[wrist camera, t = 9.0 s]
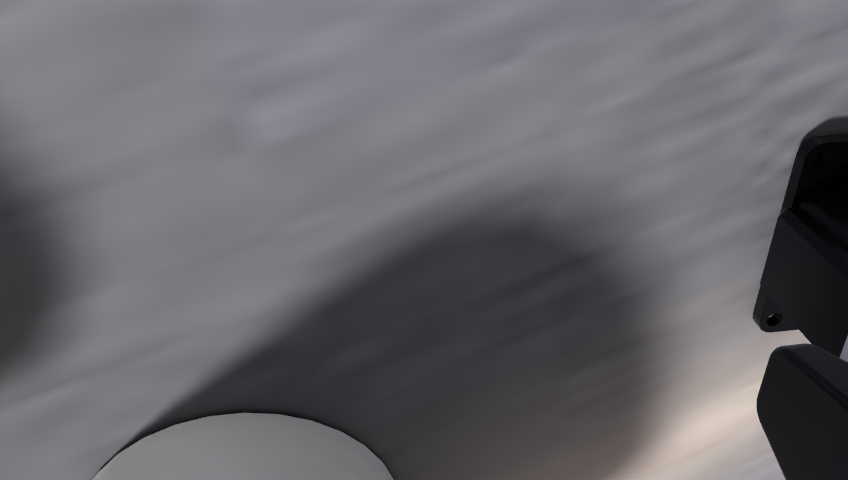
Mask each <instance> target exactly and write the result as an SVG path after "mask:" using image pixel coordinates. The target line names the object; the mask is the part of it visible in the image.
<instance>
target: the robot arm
mask: <svg viewBox="0 0 848 480" xmlns="http://www.w3.org/2000/svg"><path fill="white" fill-rule="evenodd" d="M821 151H822V153H821V155H820V156H819V157H818V158H817V159H816V160H813V158H814V156H815V155H816V154H817V153H819V152H821ZM760 285H761V286H760V290H759V293H758V297H757V301H756V304H755V308H754V312H753V319H754V321H755V323H756V324H757V325H758V326H759V327H760V329H761V330H763V331H765V332H779V331H788V330H798V329H799V330H800V331H801V332H802V333H803V334H804V336H805V337H806V338H807V339H808V340H809V341H810V342H811V344H797V345H788V346H781V347H778V348H776V349H775V350H774V351H773V352H772V353H771V355H770V358H769V361H768V364H767V367H766V371H765V374H764V377H763V380H762V384H761V387H760V390H759V393H758V397H757V413H758V417H759V420H760V423H761V425H762V427H763V429H764V432H765V434H766V436H767V438H768V441H769V443H770V445H771V447H772V450H773V452H774V454H775V457H776V459H777V461H778V463H779V466H780V468H781V470H782V472H783V475H784V477H785V479H786V480H848V134H844V135H830V136H817V137H813V138H810V139H809V140H807V141H806V142H804V143H803V144H802V145H801V147H800V148H799V150H798V152H797V154H796V158H795V161H794V165H793V169H792V172H791V176H790V180H789V183H788V187H787V191H786V194H785V198H784V202H783V205H782V209H781V213H780V215H779V217H778V220H777V223H776V227H775V231H774V234H773V238H772V242H771V245H770V249H769V253H768V256H767V260H766V264H765V267H764V271H763V275H762V278H761V282H760ZM772 314H774V315H772ZM771 315H772V316H771ZM769 316H771V317H769ZM768 317H769V318H768Z"/></svg>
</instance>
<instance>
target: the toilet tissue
mask: <svg viewBox="0 0 848 480" xmlns="http://www.w3.org/2000/svg"><path fill="white" fill-rule="evenodd" d="M93 480H394V479H393V477H392V476H391V474H390V473H389V471H388V470H387V468H386V467H385V465H384V464H383V462H382V461H381V460H380V459H379V458H378V457H376V456H375V455H374V454H373V453H372V452H371V451H370V450H369V449H368V448H367V447H366V446H365V445H363V444H361V443H360V442H358V441H356V440H355V439H353V438H351V437H350V436H348V435H346V434H344V433H343V432H341V431H339V430H336V429H333V428H331V427H328V426H325V425H322V424H320V423H317V422H314V421H312V420H306V419H301V418H296V417H291V416H286V415H280V414H262V413H237V414H227V415H217V416H208V417H204V418H200V419H196V420H192V421H188V422H184V423H180V424H176V425H173V426H170V427H168V428H166V429H163V430H161V431H158V432H156V433H154V434H151V435H149V436H147V437H144V438H142V439H141V440H139V441H138V442H136V443H134V444H133V445H131V446H130V447H128V448H127V449H125V450H123V451H122V452H120V453H119V454H117V455H116V456H115V457H114V458H113V459H112V460H111V461H110V462H109V463H108V464H107V465H106V466H105V467H104V468H103V469H101V470H100V471H99V472H98V473H97V474H96V476H95V477H94V479H93Z"/></svg>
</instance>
